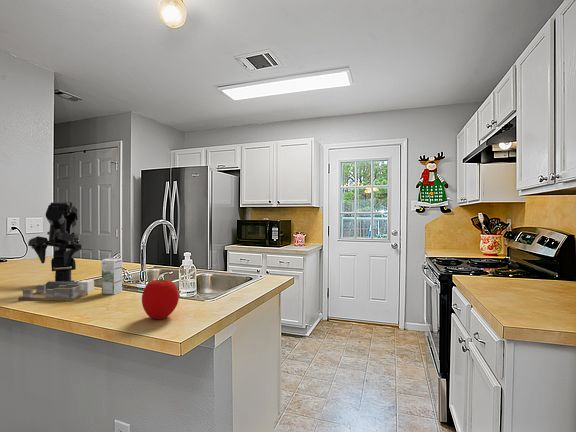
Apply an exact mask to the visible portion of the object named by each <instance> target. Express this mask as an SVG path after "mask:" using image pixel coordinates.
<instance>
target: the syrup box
mask: <svg viewBox="0 0 576 432" xmlns="http://www.w3.org/2000/svg"><path fill="white" fill-rule="evenodd" d="M122 292H123V258H121V257H120V258H116V257H115V258H114V257H110V258H109V257H108V258H104V259H101V295H117V294H119V293H122Z"/></svg>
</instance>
